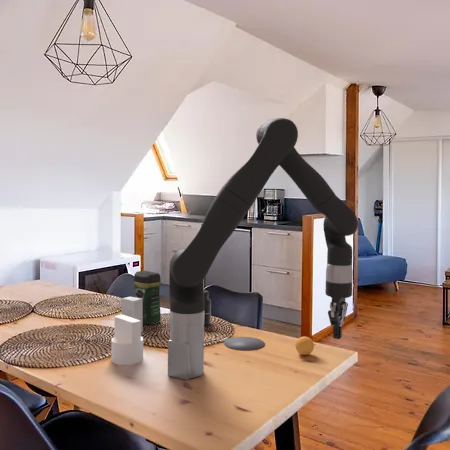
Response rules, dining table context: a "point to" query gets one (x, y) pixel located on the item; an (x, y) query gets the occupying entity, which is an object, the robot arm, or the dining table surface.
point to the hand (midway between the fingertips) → (337, 338)
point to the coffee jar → (148, 295)
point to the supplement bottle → (207, 308)
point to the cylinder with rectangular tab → (127, 341)
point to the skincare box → (133, 308)
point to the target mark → (244, 343)
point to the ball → (304, 345)
